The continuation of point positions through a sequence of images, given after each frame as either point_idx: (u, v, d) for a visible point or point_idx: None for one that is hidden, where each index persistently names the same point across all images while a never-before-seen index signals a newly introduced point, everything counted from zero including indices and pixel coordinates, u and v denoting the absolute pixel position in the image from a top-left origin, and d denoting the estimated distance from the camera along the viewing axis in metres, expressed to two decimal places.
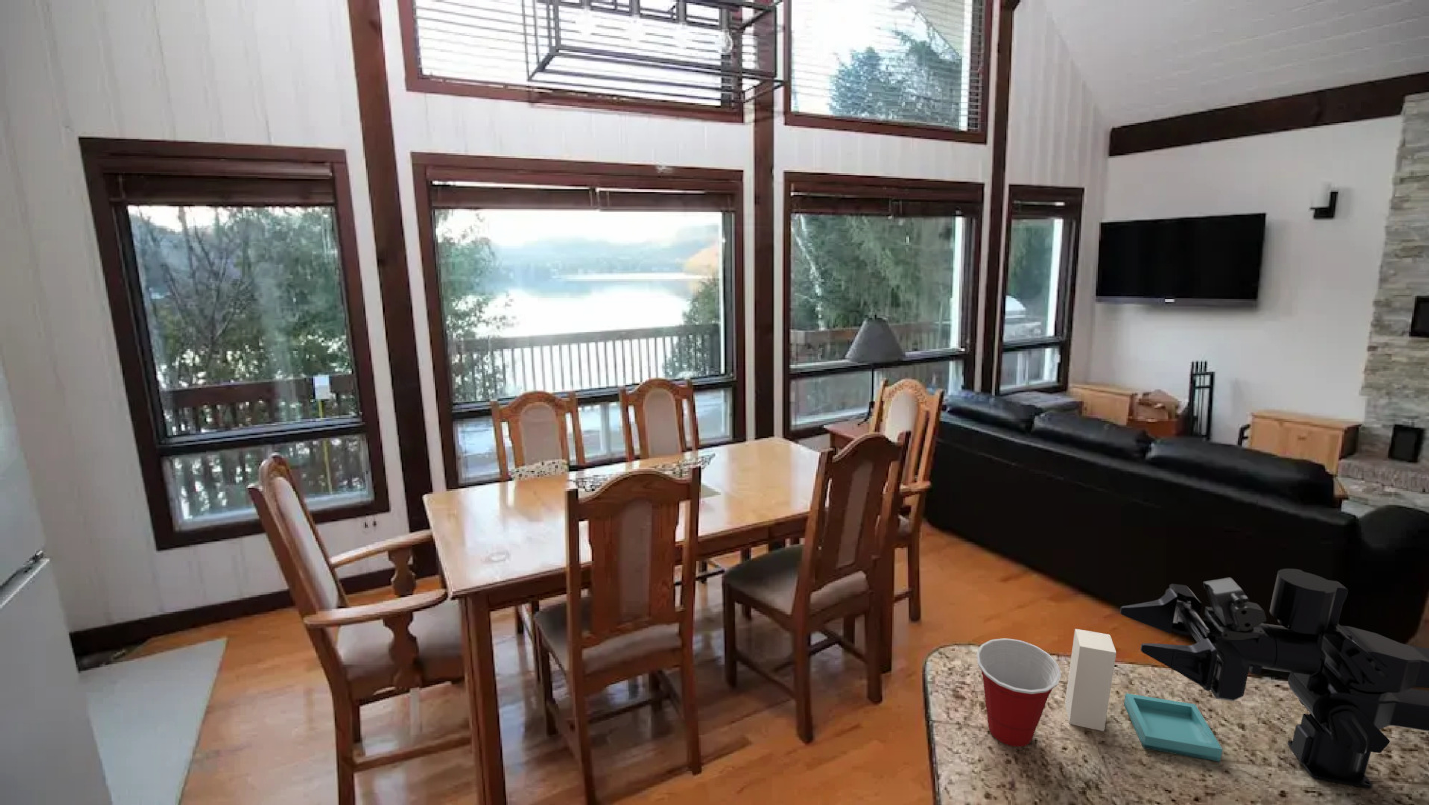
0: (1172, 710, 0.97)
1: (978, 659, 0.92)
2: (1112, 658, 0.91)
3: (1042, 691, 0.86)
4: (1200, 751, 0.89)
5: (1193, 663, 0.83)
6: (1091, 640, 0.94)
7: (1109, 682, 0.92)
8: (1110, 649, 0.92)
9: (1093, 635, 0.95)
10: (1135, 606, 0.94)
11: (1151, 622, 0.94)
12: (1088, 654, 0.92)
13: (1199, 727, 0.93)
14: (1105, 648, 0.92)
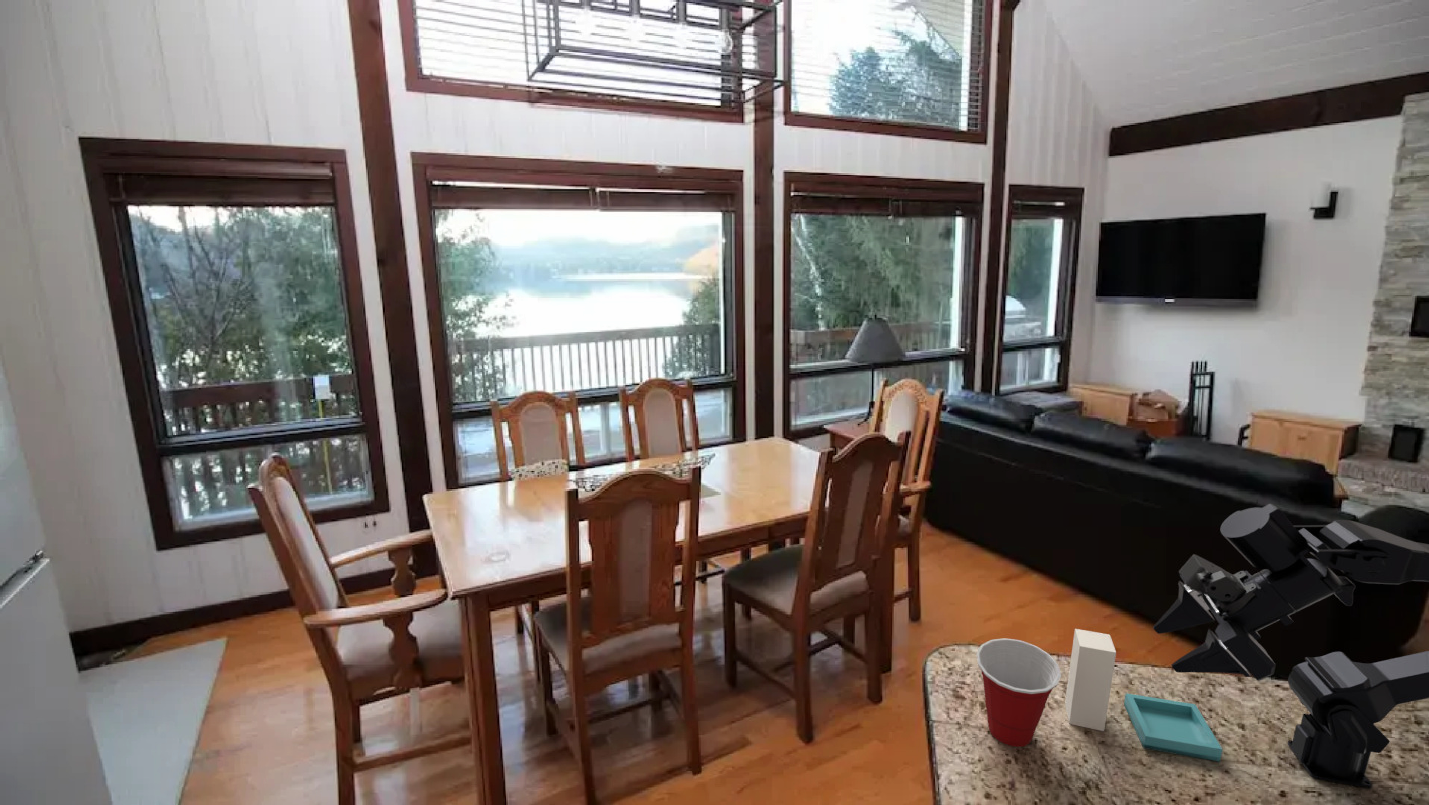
0: (1172, 710, 0.97)
1: (978, 659, 0.92)
2: (1112, 658, 0.91)
3: (1042, 691, 0.86)
4: (1200, 751, 0.89)
5: (1220, 657, 0.83)
6: (1091, 640, 0.94)
7: (1109, 682, 0.92)
8: (1109, 649, 0.92)
9: (1093, 635, 0.95)
10: (1162, 619, 0.94)
11: (1189, 622, 0.93)
12: (1087, 654, 0.92)
13: (1199, 727, 0.93)
14: (1105, 648, 0.92)
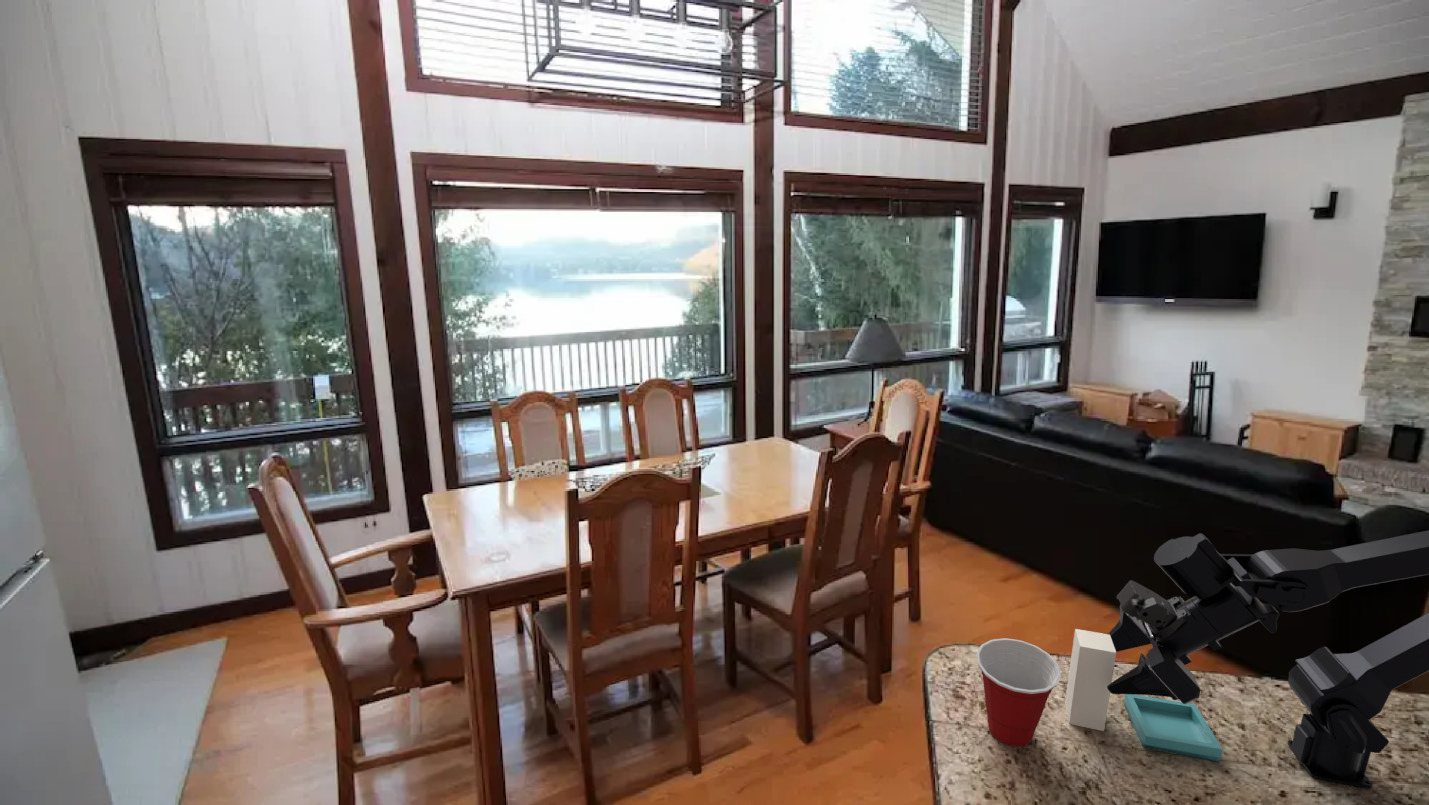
0: (1172, 710, 0.97)
1: (978, 659, 0.92)
2: (1112, 658, 0.91)
3: (1042, 691, 0.86)
4: (1200, 751, 0.89)
5: (1151, 680, 0.87)
6: (1091, 640, 0.94)
7: (1109, 682, 0.92)
8: (1110, 649, 0.92)
9: (1093, 635, 0.95)
10: None
11: (1129, 644, 0.97)
12: (1088, 654, 0.92)
13: (1199, 727, 0.93)
14: (1105, 648, 0.92)
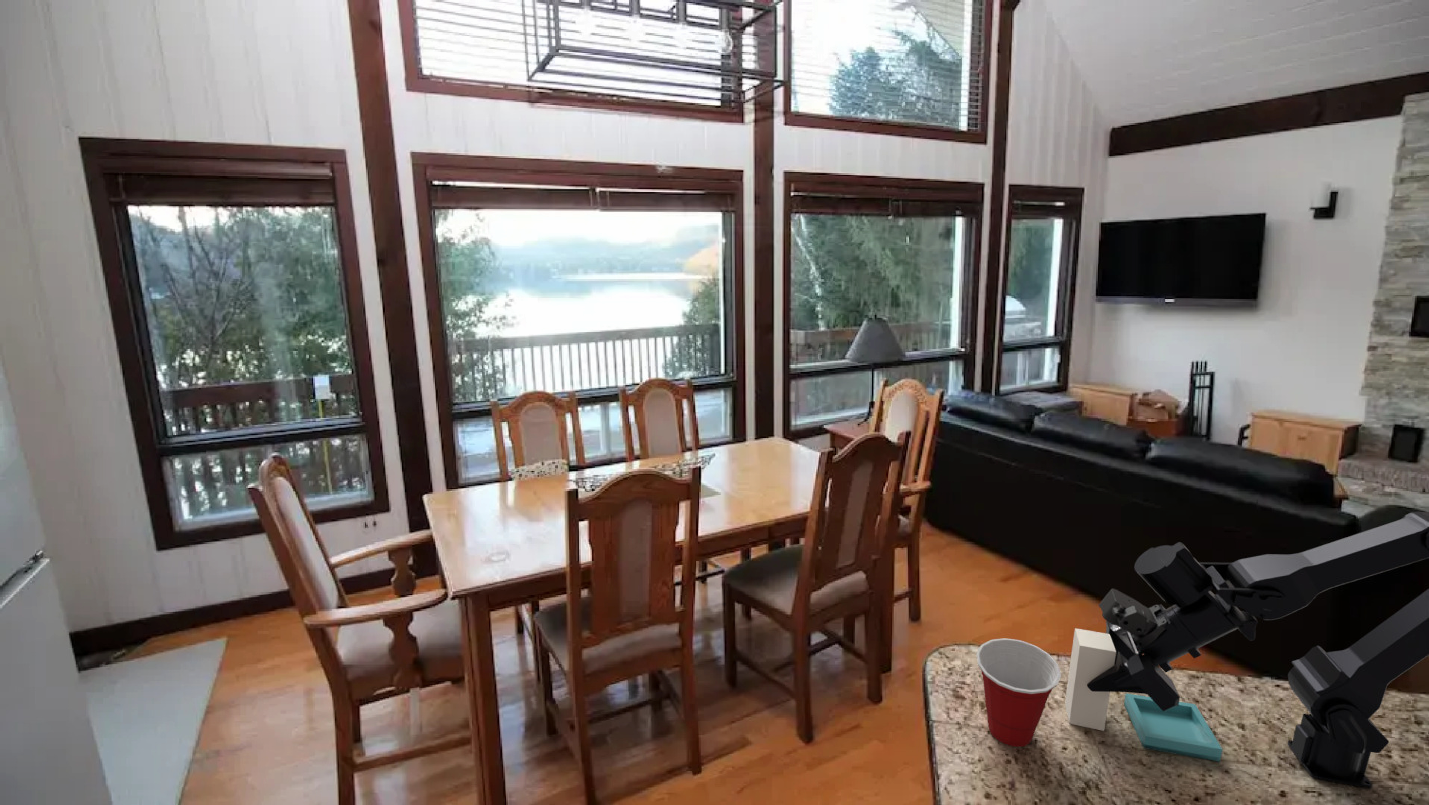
0: (1172, 710, 0.97)
1: (978, 659, 0.92)
2: (1112, 657, 0.91)
3: (1042, 691, 0.86)
4: (1200, 751, 0.89)
5: (1129, 678, 0.90)
6: (1090, 639, 0.94)
7: None
8: (1109, 648, 0.92)
9: (1093, 634, 0.95)
10: None
11: (1115, 660, 0.96)
12: (1087, 653, 0.92)
13: (1199, 727, 0.93)
14: (1105, 648, 0.92)
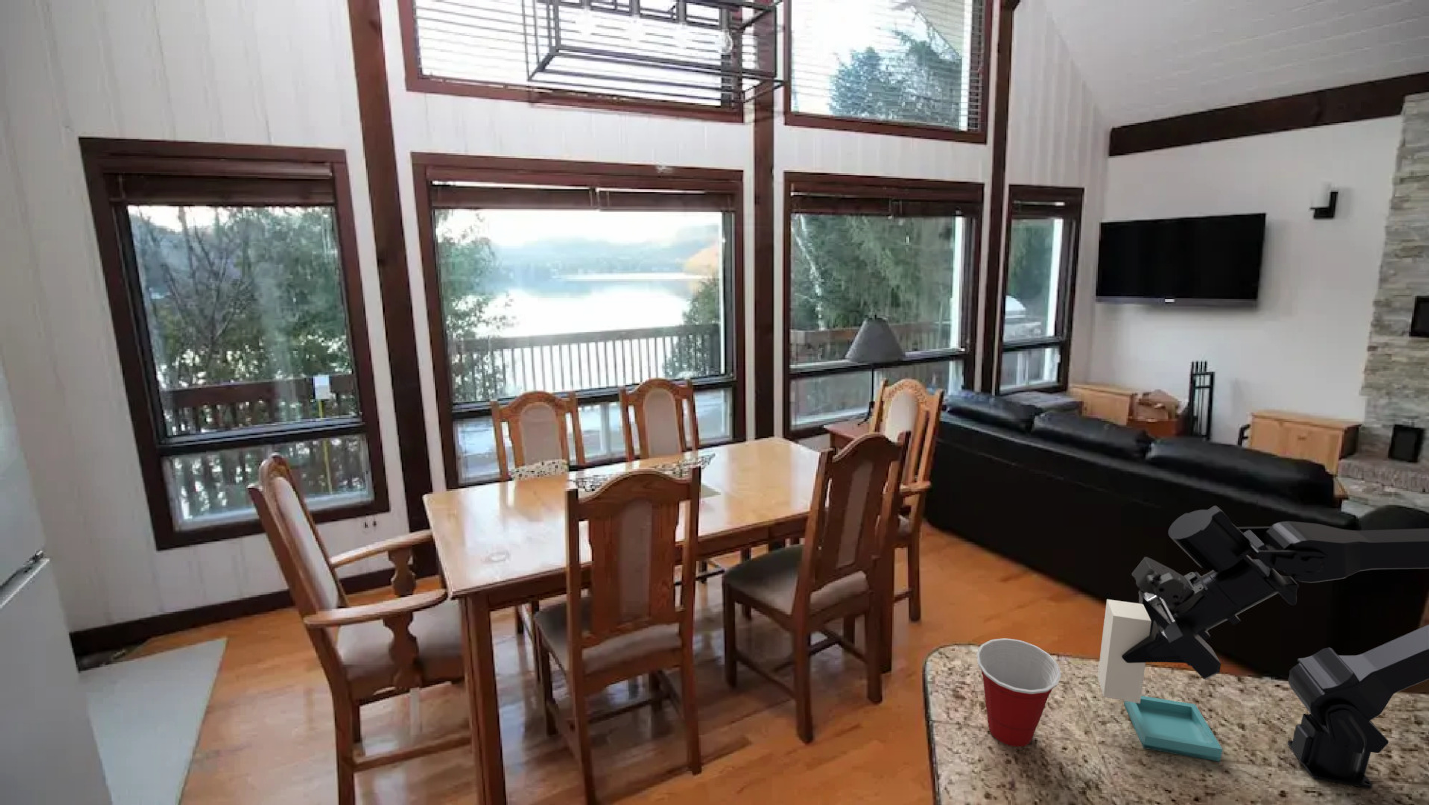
0: (1172, 710, 0.97)
1: (978, 659, 0.92)
2: (1147, 627, 0.89)
3: (1042, 691, 0.86)
4: (1200, 751, 0.89)
5: (1166, 647, 0.87)
6: (1124, 609, 0.91)
7: None
8: (1144, 617, 0.89)
9: (1126, 605, 0.92)
10: None
11: None
12: (1121, 623, 0.90)
13: (1199, 727, 0.93)
14: (1140, 617, 0.89)
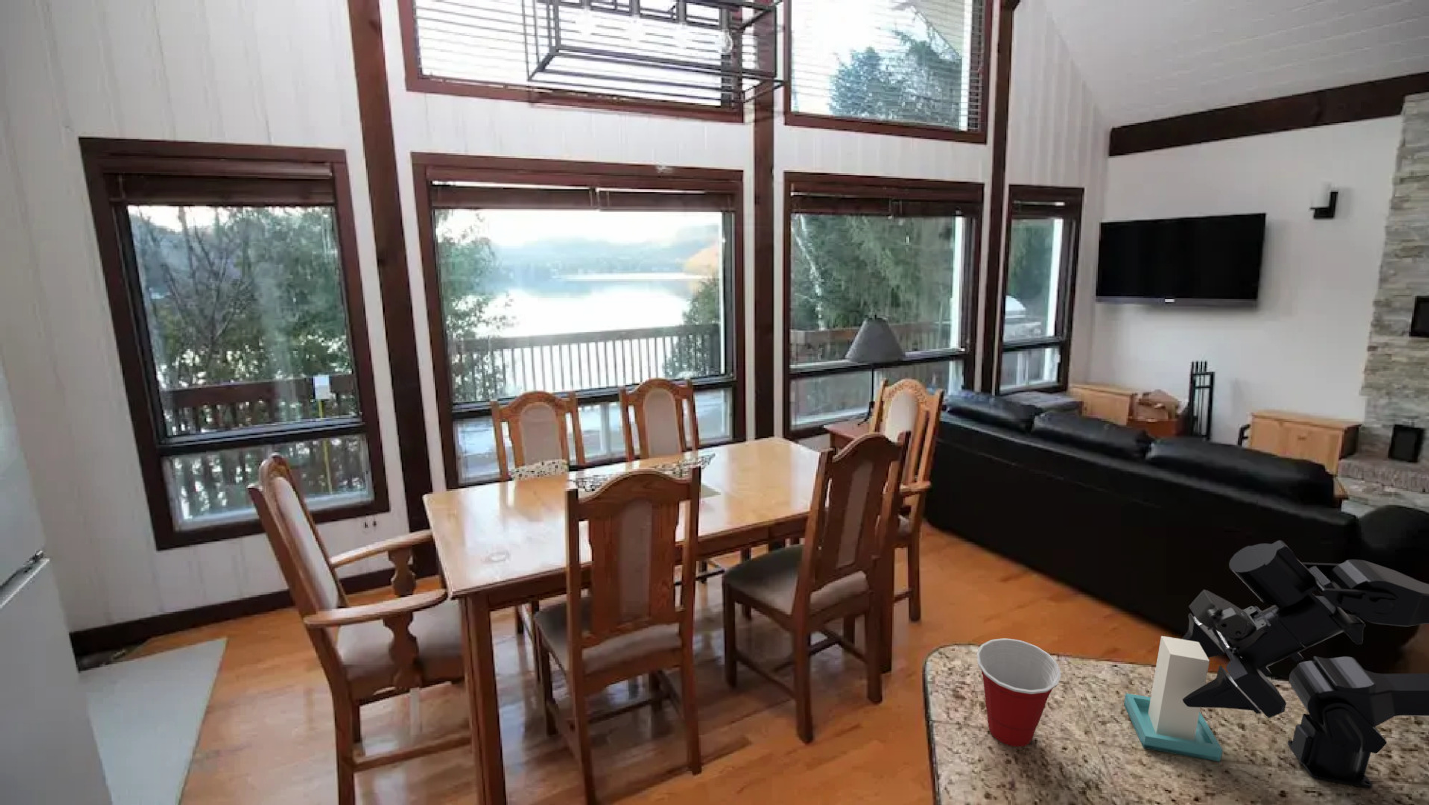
0: None
1: (978, 659, 0.92)
2: (1205, 666, 0.88)
3: (1042, 691, 0.86)
4: (1200, 751, 0.89)
5: (1231, 693, 0.84)
6: (1180, 647, 0.91)
7: None
8: (1202, 657, 0.88)
9: (1181, 642, 0.92)
10: None
11: None
12: (1178, 662, 0.89)
13: (1199, 727, 0.93)
14: (1197, 656, 0.89)
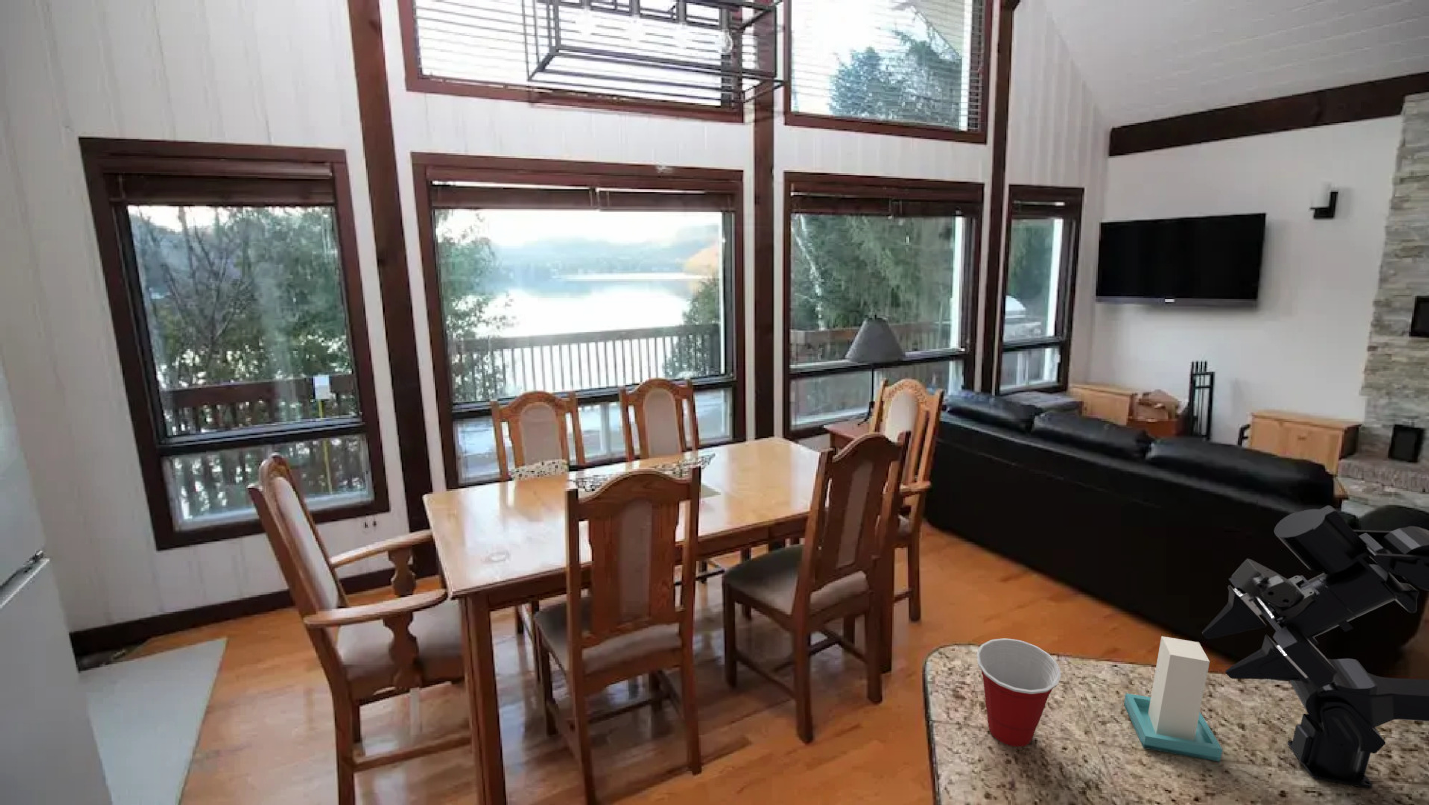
0: None
1: (978, 659, 0.92)
2: (1205, 667, 0.88)
3: (1042, 691, 0.86)
4: (1200, 751, 0.89)
5: (1278, 664, 0.81)
6: (1180, 648, 0.91)
7: (1201, 692, 0.89)
8: (1202, 657, 0.88)
9: (1182, 643, 0.92)
10: (1212, 624, 0.93)
11: (1240, 627, 0.92)
12: (1178, 663, 0.89)
13: (1199, 727, 0.93)
14: (1197, 657, 0.89)
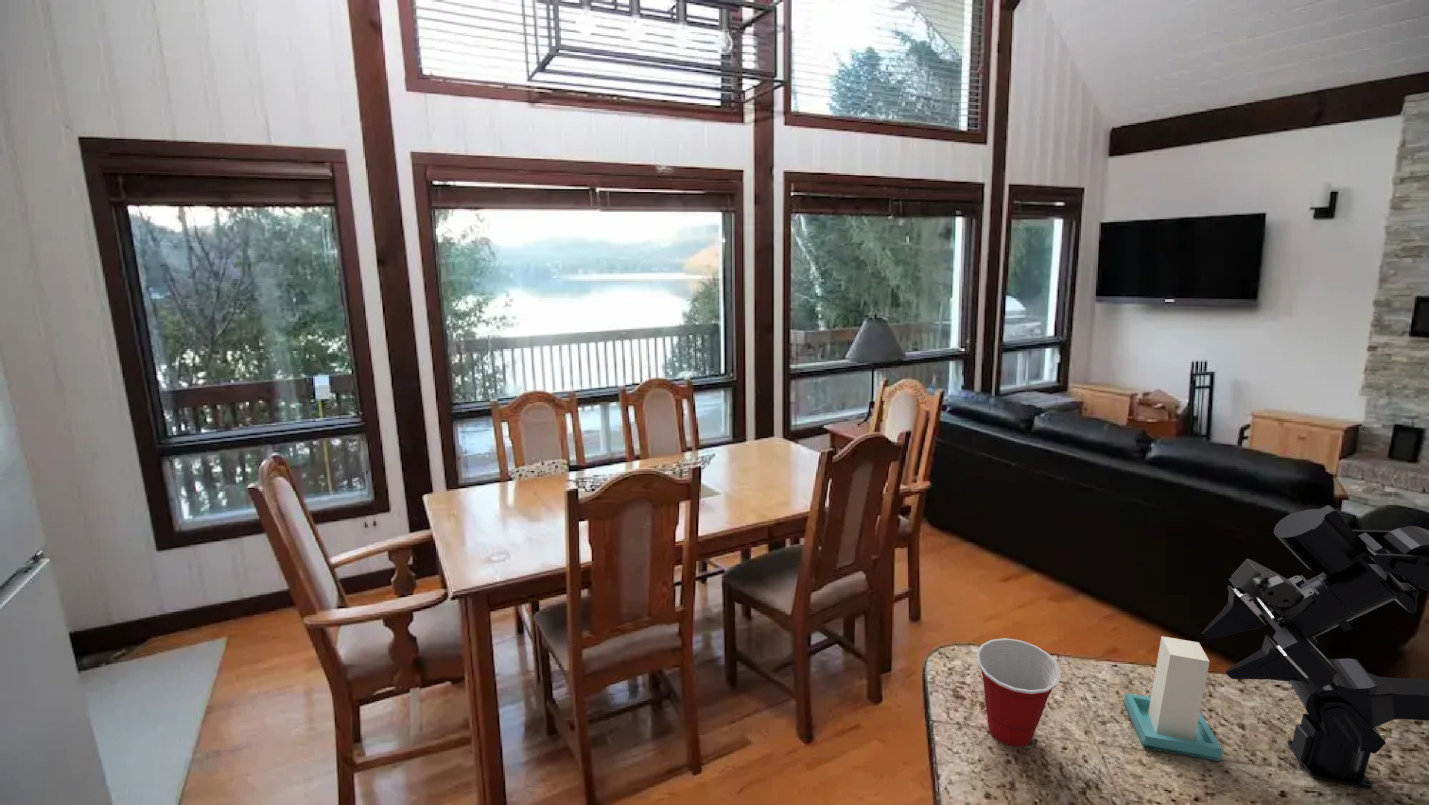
0: None
1: (978, 659, 0.92)
2: (1205, 667, 0.88)
3: (1042, 691, 0.86)
4: (1200, 751, 0.89)
5: (1278, 664, 0.81)
6: (1180, 648, 0.91)
7: (1201, 692, 0.89)
8: (1202, 657, 0.88)
9: (1182, 643, 0.92)
10: (1212, 624, 0.93)
11: (1240, 627, 0.92)
12: (1178, 663, 0.89)
13: (1199, 727, 0.93)
14: (1197, 657, 0.89)
